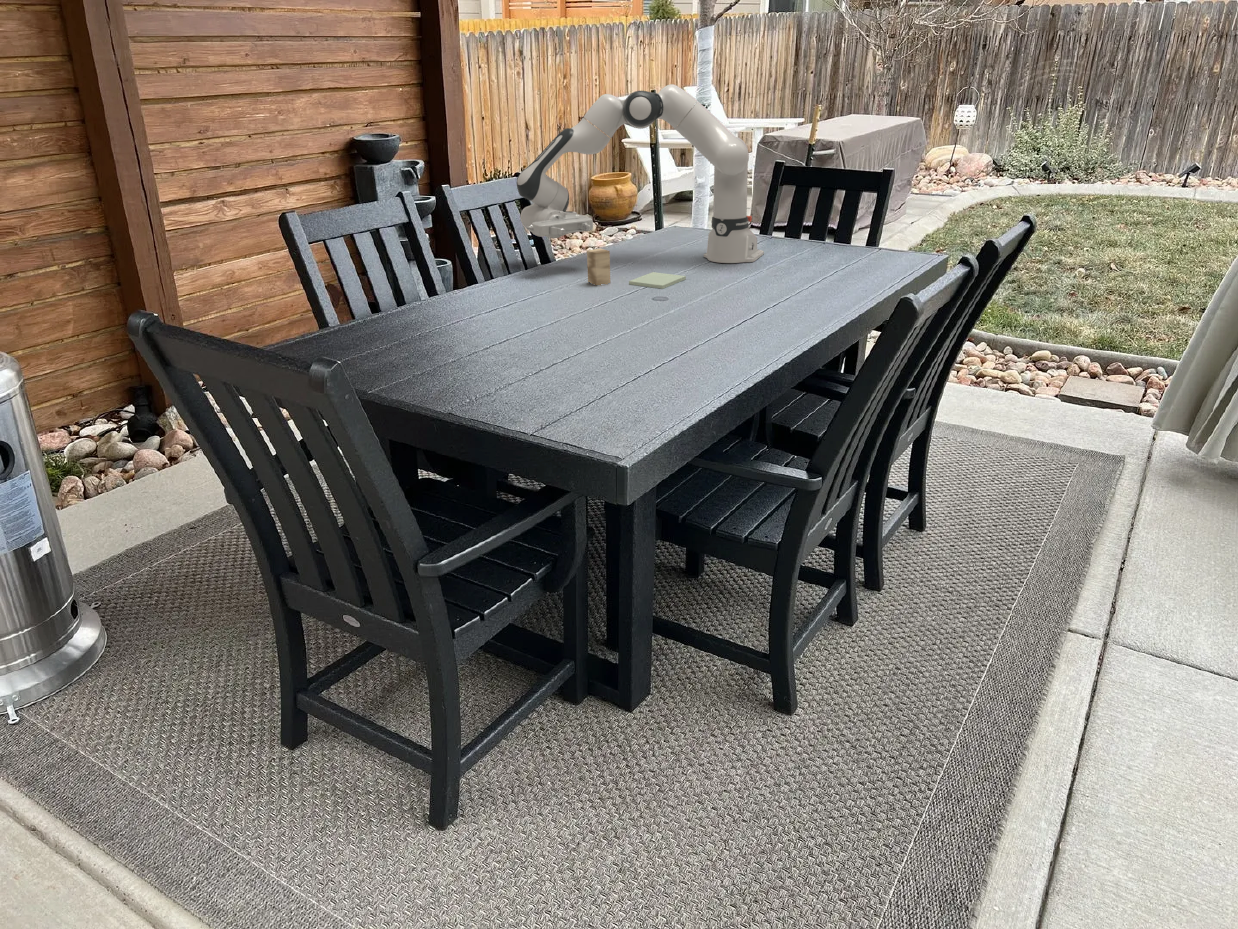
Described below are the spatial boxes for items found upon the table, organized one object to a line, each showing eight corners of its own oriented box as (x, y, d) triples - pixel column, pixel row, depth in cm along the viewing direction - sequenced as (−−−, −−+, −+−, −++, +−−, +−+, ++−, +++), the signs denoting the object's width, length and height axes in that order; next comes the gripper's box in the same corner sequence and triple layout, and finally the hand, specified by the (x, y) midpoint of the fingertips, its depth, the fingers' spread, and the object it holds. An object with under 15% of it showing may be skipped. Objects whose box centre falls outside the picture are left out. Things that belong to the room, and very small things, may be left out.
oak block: (588, 283, 285) (586, 250, 280) (601, 280, 287) (600, 248, 283) (596, 285, 281) (595, 253, 277) (610, 283, 283) (609, 250, 279)
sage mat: (652, 275, 292) (652, 272, 292) (685, 279, 286) (685, 276, 286) (628, 284, 282) (628, 281, 281) (662, 288, 276) (662, 285, 275)
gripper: (524, 217, 291) (546, 223, 281) (578, 210, 301) (602, 216, 291) (525, 237, 294) (547, 244, 283) (579, 230, 304) (602, 236, 294)
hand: (575, 230), depth 287 cm, fingers open, 8 cm apart
